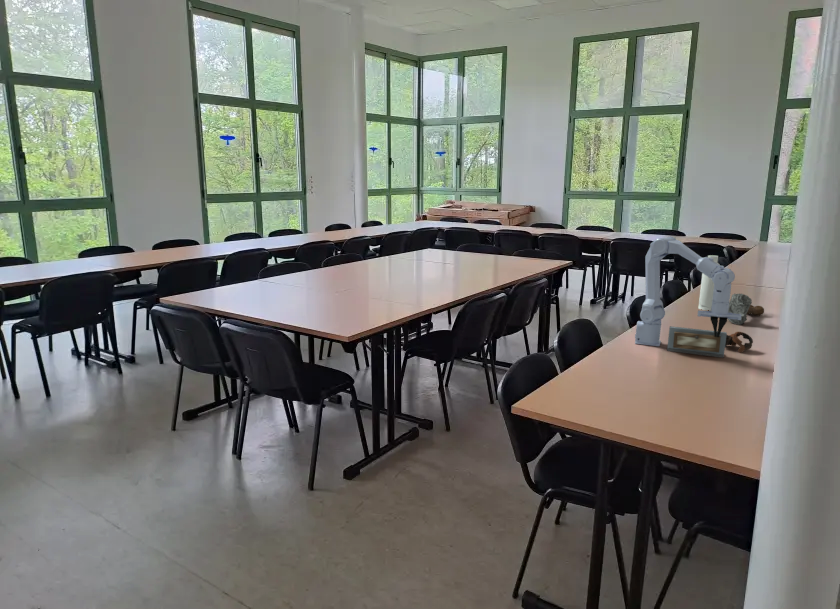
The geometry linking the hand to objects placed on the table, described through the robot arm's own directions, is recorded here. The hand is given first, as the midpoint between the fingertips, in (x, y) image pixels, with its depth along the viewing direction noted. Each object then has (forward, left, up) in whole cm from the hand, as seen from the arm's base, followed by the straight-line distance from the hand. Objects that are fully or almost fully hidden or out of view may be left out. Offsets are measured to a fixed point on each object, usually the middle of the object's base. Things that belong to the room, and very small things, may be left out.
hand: (716, 336), depth 215 cm
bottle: (-2, +91, -9) cm, 91 cm away
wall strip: (-7, +3, -9) cm, 11 cm away
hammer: (+15, +74, -9) cm, 76 cm away
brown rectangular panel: (-7, +1, -6) cm, 9 cm away
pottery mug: (+7, +16, -9) cm, 20 cm away
